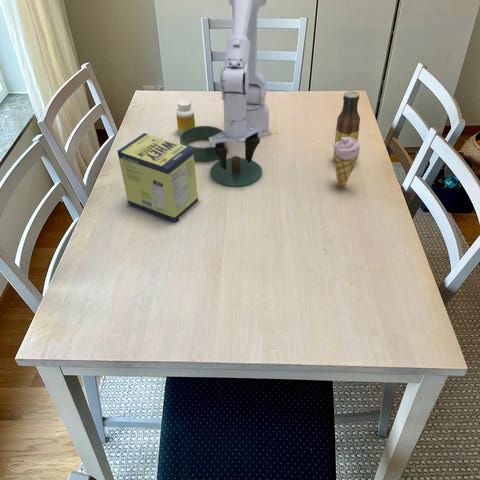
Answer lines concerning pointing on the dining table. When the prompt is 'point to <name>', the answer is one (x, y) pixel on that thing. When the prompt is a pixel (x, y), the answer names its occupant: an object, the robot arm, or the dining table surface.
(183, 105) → the supplement bottle
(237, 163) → the lid
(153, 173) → the protein box
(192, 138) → the pot
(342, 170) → the ice cream cone
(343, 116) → the sauce bottle
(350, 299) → the dining table surface
